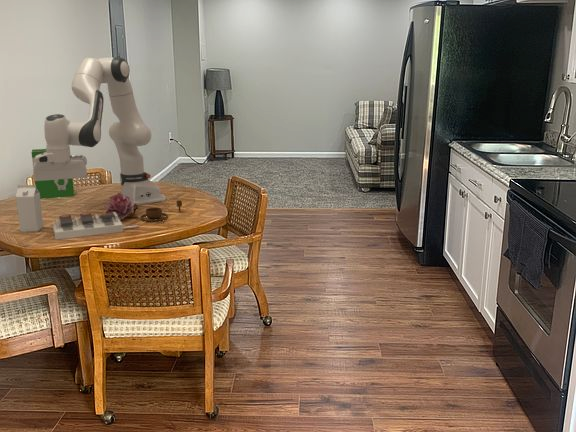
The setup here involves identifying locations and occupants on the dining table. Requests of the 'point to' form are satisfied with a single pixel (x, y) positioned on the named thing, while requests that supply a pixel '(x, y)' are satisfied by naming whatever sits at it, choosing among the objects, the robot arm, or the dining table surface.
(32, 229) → the milk carton
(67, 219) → the rocker far end
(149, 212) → the place setting
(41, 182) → the hardback book
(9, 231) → the dining table surface
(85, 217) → the rocker middle
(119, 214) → the flower
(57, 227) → the power strip
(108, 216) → the rocker near arm
